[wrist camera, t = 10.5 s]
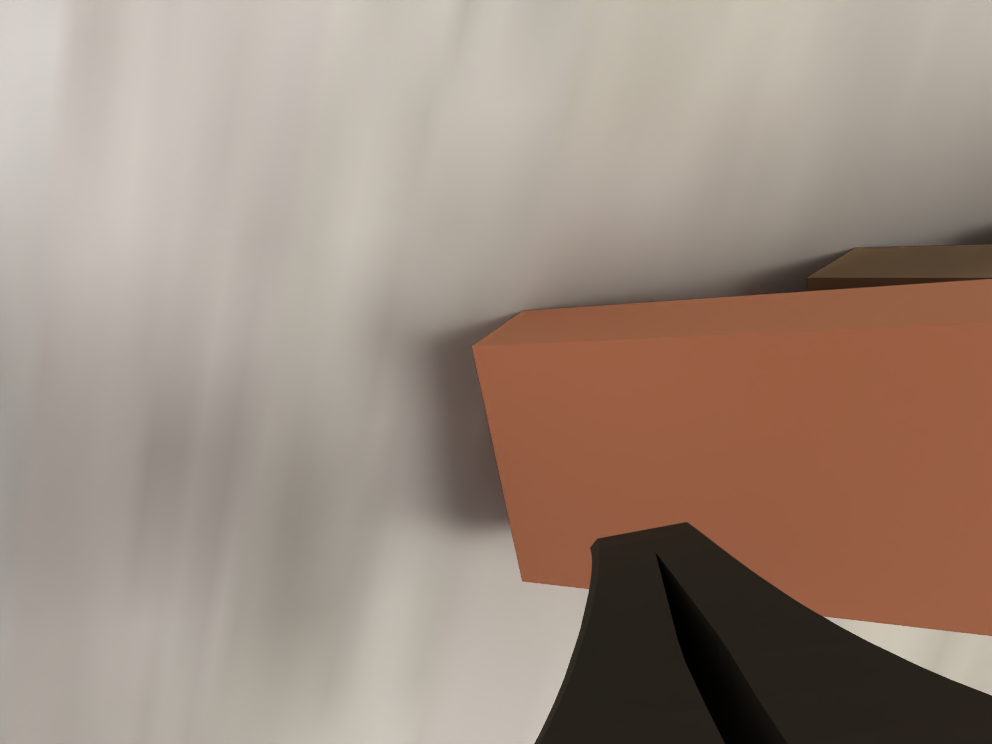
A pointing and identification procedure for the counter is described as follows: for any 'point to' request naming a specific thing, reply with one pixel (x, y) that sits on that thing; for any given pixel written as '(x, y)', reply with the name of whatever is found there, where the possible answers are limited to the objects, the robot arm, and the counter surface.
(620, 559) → the robot arm
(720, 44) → the counter surface
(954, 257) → the domino
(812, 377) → the domino
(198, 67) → the counter surface
